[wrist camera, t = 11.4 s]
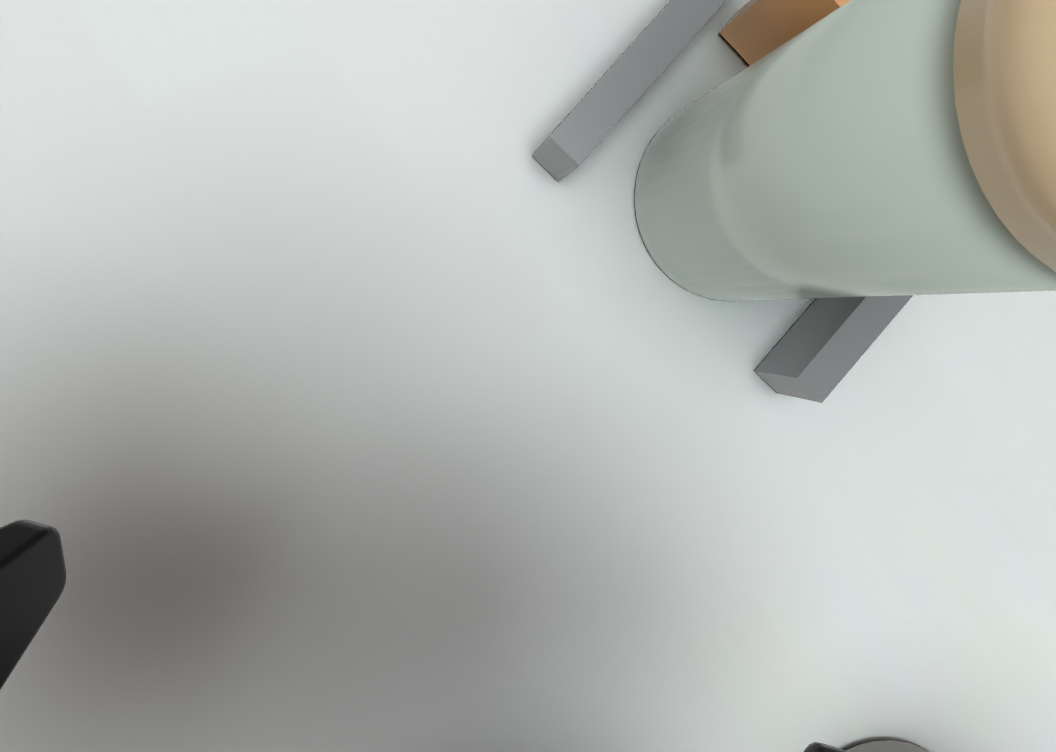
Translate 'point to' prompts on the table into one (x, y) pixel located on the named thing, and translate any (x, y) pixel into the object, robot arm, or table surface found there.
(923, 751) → the travel mug
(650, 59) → the grey bracket
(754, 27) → the pusher
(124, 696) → the table surface
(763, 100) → the jar
